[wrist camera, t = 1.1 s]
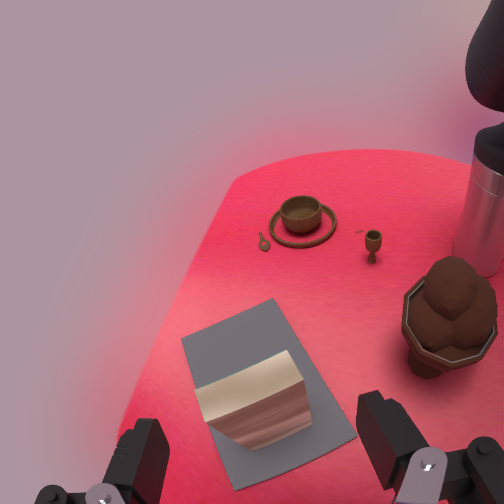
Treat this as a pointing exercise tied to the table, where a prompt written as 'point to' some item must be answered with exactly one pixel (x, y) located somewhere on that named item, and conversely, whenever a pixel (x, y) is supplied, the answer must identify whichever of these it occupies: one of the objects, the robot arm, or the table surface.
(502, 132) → the robot arm
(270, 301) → the mat
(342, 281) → the table surface
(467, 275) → the ice cream bowl
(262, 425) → the tile
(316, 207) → the place setting
